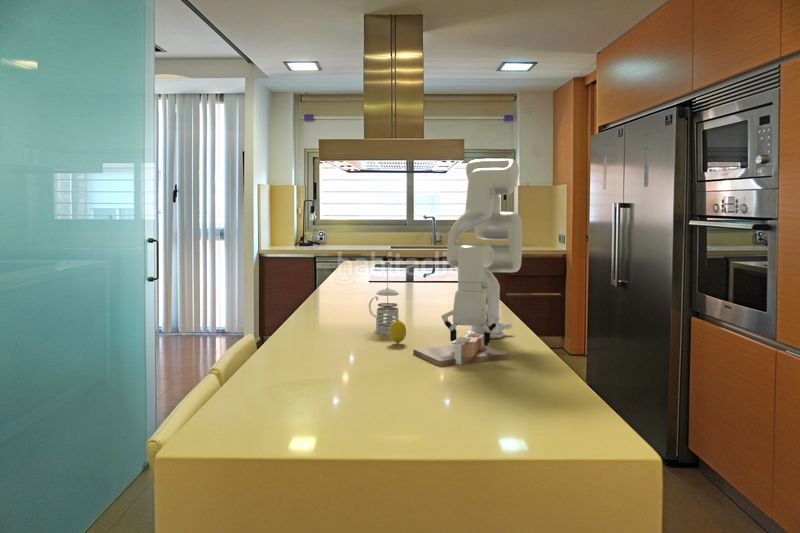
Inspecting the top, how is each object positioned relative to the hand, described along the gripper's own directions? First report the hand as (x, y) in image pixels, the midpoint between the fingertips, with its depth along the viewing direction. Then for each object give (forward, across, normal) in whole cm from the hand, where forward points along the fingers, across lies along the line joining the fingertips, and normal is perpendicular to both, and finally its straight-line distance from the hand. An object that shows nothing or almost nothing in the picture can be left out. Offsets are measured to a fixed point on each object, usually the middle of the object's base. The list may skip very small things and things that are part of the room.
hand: (470, 344), depth 204 cm
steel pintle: (+2, 0, -6) cm, 6 cm away
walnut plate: (+4, +3, +1) cm, 5 cm away
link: (+2, 0, 0) cm, 2 cm away
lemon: (+4, +26, -12) cm, 29 cm away
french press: (+4, +36, -32) cm, 48 cm away
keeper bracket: (+4, +1, +8) cm, 8 cm away
